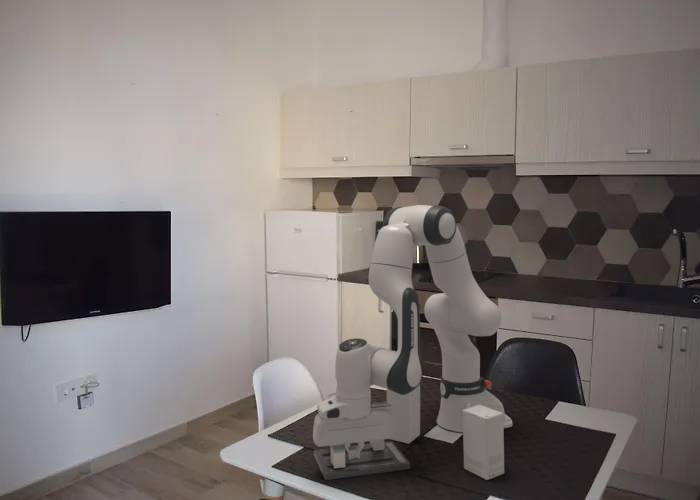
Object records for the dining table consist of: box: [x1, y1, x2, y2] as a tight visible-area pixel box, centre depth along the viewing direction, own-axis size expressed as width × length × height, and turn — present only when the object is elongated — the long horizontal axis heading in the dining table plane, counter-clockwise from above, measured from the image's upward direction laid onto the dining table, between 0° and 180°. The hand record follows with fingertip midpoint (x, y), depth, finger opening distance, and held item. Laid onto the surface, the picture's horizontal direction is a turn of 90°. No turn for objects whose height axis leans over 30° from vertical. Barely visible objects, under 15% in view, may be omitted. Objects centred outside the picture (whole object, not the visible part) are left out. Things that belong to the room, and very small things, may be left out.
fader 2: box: [369, 439, 385, 451], centre depth 157 cm, size 3×4×4 cm
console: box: [313, 440, 411, 481], centre depth 152 cm, size 22×14×2 cm, turn 104°
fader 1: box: [329, 444, 345, 469], centre depth 147 cm, size 3×4×4 cm
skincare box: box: [462, 405, 505, 481], centre depth 146 cm, size 8×7×16 cm
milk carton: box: [386, 383, 421, 444], centre depth 167 cm, size 7×7×19 cm
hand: (353, 458), depth 148 cm, fingers closed
